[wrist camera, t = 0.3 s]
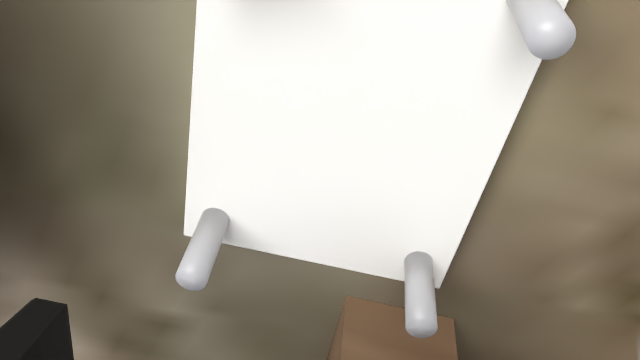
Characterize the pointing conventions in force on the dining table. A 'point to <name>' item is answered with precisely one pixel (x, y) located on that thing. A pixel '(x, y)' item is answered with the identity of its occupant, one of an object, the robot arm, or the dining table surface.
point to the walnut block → (387, 335)
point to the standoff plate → (355, 129)
